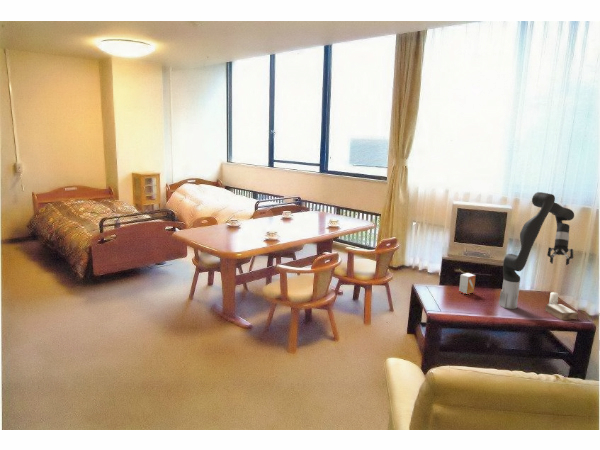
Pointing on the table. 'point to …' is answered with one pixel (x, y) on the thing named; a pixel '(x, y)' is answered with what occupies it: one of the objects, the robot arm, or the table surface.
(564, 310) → the dock
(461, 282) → the small box
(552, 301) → the canister
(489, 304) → the table surface
